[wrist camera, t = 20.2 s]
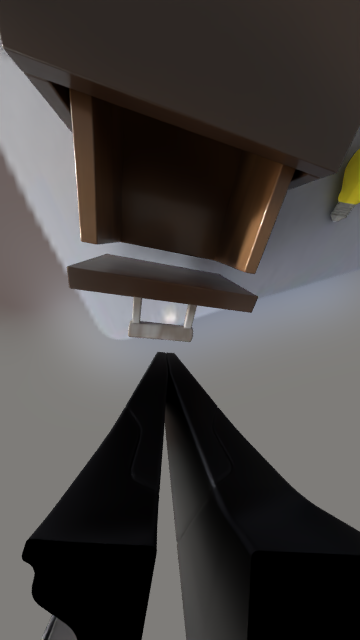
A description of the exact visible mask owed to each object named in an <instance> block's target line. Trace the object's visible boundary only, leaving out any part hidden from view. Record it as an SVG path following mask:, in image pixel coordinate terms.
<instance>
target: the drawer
mask: <svg viewBox="0 0 360 640" xmlns="http://www.w3.org/2000/svg"><path fill="white" fill-rule="evenodd" d="M69 90H70V104H71V117H72V130H73V143H74V157H75V170H76V183H77V196H78V210H79V223H80V236H81V241H82V242H87V243H92V244H105V243H114V242H124V243H129V244H134V245H139V246H144V247H149V248H154V249H159V250H165V251H170V252H175V253H180V254H185V255H190V256H195V257H200V258H205V259H210V260H215V261H217V262H220V263H222V264H225V265H228V266H230V267H233V268H235V269H238V270H240V271H243V272H246V273H251V274H255V273H256V270H257V268H258V265H259V263H260V260H261V257H262V255H263V252H264V250H265V247H266V244H267V242H268V239H269V237H270V234H271V232H272V229H273V226H274V224H275V221H276V219H277V216H278V213H279V211H280V208H281V206H282V203H283V200H284V198H285V195H286V193H287V190H288V188H289V185H290V182H291V180H292V177H293V175H294V172H295V168H292V167H289V166H286V165H284V164H281V163H278V162H275V161H272V160H270V159H267V158H264V157H261V156H258V155H256V154H253V153H250V152H247V151H244V150H242V149H239V148H236V147H233V146H230V145H228V144H225V143H222V142H219V141H216V140H214V139H211V138H208V137H205V136H202V135H200V134H197V133H194V132H191V131H188V130H186V129H183V128H180V127H177V126H174V125H172V124H169V123H166V122H163V121H160V120H158V119H155V118H152V117H149V116H146V115H144V114H141V113H138V112H135V111H132V110H130V109H127V108H124V107H121V106H118V105H116V104H113V103H110V102H107V101H104V100H102V99H99V98H96V97H93V96H90V95H88V94H85V93H82V92H79V91H76V90H74V89H71V88H69ZM67 273H68V282H69V288H71V289H78V290H86V291H93V292H101V293H108V294H116V295H123V296H131V297H134V299H133V315H132V320H131V321H130V323H129V330H128V336H129V337H138V338H150V339H161V340H173V341H174V340H175V341H185V342H191V340H192V337H193V329H192V323H193V319H194V315H195V311H196V307H197V305H198V306H205V307H213V308H220V309H228V310H235V311H243V312H250V313H251V312H252V310H253V308H254V306H255V303H256V301H257V299H258V296H256V295H254V294H253V293H251V292H249V291H248V290H246V289H244V288H242V287H241V286H239V285H237V284H236V283H234V282H232V281H230V280H229V279H227V278H225V277H224V276H222V275H220V274H215V273H210V272H204V271H199V270H193V269H187V268H182V267H176V266H171V265H165V264H160V263H154V262H148V261H143V260H137V259H132V258H126V257H121V256H115V255H110V254H105V255H102V256H99V257H95V258H92V259H89V260H86V261H83V262H80V263H77V264H73V265H70V266H67ZM142 298H146V299H153V300H161V301H168V302H176V303H183V304H188V308H187V313H186V317H185V321H184V326H181V325H172V324H162V323H153V322H143V321H140V316H141V305H142Z"/></svg>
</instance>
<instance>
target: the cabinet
mask: <svg viewBox="0 0 360 640" xmlns="http://www.w3.org/2000/svg"><path fill="white" fill-rule="evenodd" d="M0 38H1V43H2V46H3V48H4V50H5V51H6V52H7V53H8V55H9V56H10V57H11V58H12V59H13V61H14V62H15V63H16V64H17V66H18V67H19V68H20V69H21V70H22V71H23V72H24V74H25V75H26V76H27V77H28V79H29V80H30V81H31V82H32V84H33V85H34V86H35V87H36V88H37V90H38V91H39V92H40V93H41V95H42V96H43V97H44V98H45V100H46V101H47V102H48V103H49V105H50V106H51V107H52V108H53V110H54V111H55V112H56V113H57V114H58V116H59V117H60V118H61V119H62V121H63V122H64V123H65V124H66V126H67V127H68V128H69V129H70V131H71V132H72V133H73V130H72V117H71V104H70V90H69V88H71V89H74V90H76V91H79V92H82V93H85V94H88V95H90V96H93V97H96V98H99V99H102V100H104V101H107V102H110V103H113V104H116V105H118V106H121V107H124V108H127V109H130V110H132V111H135V112H138V113H141V114H144V115H146V116H149V117H152V118H155V119H158V120H160V121H163V122H166V123H169V124H172V125H174V126H177V127H180V128H183V129H186V130H188V131H191V132H194V133H197V134H200V135H202V136H205V137H208V138H211V139H214V140H216V141H219V142H222V143H225V144H228V145H230V146H233V147H236V148H239V149H242V150H244V151H247V152H250V153H253V154H256V155H258V156H261V157H264V158H267V159H270V160H272V161H275V162H278V163H281V164H284V165H286V166H289V167H292V168H295V172H294V175H293V177H292V180H291V182H290V185H289V188H288V190H290V189H292V188H295V187H298V186H301V185H303V184H306V183H309V182H312V181H314V180H317V179H320V178H324V177H326V176H329V175H332V174H335V173H337V172H338V170H339V168H340V166H341V164H342V162H343V160H344V157H345V155H346V153H347V151H348V149H349V147H350V145H351V143H352V141H353V139H354V137H355V134H356V132H357V130H358V128H359V126H360V0H0Z"/></svg>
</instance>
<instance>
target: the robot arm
mask: <svg viewBox="0 0 360 640" xmlns="http://www.w3.org/2000/svg"><path fill="white" fill-rule="evenodd" d="M164 423H165V429H166V440H167V450H168V460H169V470H170V480H171V489H172V500H173V509H174V520H175V530H176V540H177V543H178V544H177V550H178V560H179V570H180V579H181V590H182V600H183V609H184V620H185V629H186V640H360V532H359V531H358V530H356V529H354V528H353V527H351V526H349V525H348V524H346V523H344V522H342V521H341V520H339V519H337V518H335V517H334V516H332V515H331V514H329V513H327V512H326V511H324V510H322V509H320V508H319V507H317V506H315V505H314V504H313V503H311V502H310V501H308V500H307V499H306V498H305V497H303V496H302V495H301V494H300V493H298V492H297V491H296V490H295V489H294V488H293V487H292V486H291V485H290V484H289V483H288V482H287V481H286V480H285V479H284V478H283V477H282V476H281V475H280V474H279V473H278V472H277V471H276V470H275V469H274V468H273V467H272V466H271V465H270V464H269V463H268V462H267V461H266V460H265V459H264V458H263V457H262V456H261V454H260V453H259V452H258V451H257V450H256V449H255V448H254V447H253V446H252V445H251V444H250V443H249V442H248V441H247V440H246V439H245V438H244V437H243V435H241V433H240V432H239V431H238V430H237V429H236V428H235V427H234V426H233V424H232V423H231V422H230V421H229V420H228V418H227V417H226V416H225V415H224V414H223V412H222V411H221V410H220V409H219V408H217V405H216V404H215V403H214V401H213V400H212V399H211V398H210V396H209V395H208V394H207V393H206V392H205V390H204V389H203V388H202V387H201V385H200V384H199V383H198V382H197V381H196V379H195V378H194V377H193V376H192V374H191V373H190V372H189V371H188V369H187V368H186V367H185V366H184V364H183V363H182V362H181V361H180V360H179V358H178V357H177V356H176V355H175V354H174V353H163V352H157V354H156V355H155V357H154V359H153V360H152V362H151V364H150V366H149V367H148V369H147V371H146V373H145V374H144V376H143V378H142V379H141V381H140V383H139V384H138V386H137V388H136V390H135V391H134V393H133V395H132V396H131V398H130V400H129V401H128V403H127V405H126V408H124V410H123V411H122V413H121V415H120V417H119V418H118V420H117V421H116V423H115V425H114V426H113V428H112V429H111V431H110V432H109V434H108V435H107V437H106V438H105V439H104V441H103V442H102V444H101V445H100V447H99V448H98V450H97V451H96V452H95V454H94V455H93V456H92V457H91V459H90V460H89V462H88V463H87V464H86V466H85V467H84V468H83V470H82V471H81V472H80V474H79V475H78V476H77V478H76V479H75V480H74V482H73V483H72V484H71V486H70V487H69V489H68V490H67V491H66V492H65V494H64V495H63V496H62V498H61V500H60V501H59V502H58V503H57V504H56V506H55V507H54V508H53V510H52V511H51V512H50V514H49V515H48V516H47V517H46V519H45V520H44V521H43V522H42V523H41V525H40V526H39V527H38V528H37V529H36V531H35V532H34V533H33V534H32V535H31V537H30V538H29V539H28V540H27V541H26V544H25V547H24V550H23V553H22V559H23V561H25V562H27V563H29V564H30V565H31V566H32V567H33V569H34V572H35V576H34V580H33V584H32V595H33V598H34V600H35V601H36V602H37V604H38V605H40V606H41V607H42V608H44V609H45V610H47V611H48V612H49V613H51V614H52V616H51V619H50V621H49V623H48V625H47V627H46V630H45V632H44V634H43V637H42V638H41V640H141V639H142V633H143V628H144V622H145V616H146V611H147V605H148V599H149V593H150V588H151V582H152V576H153V570H154V565H155V559H156V552H157V520H158V502H159V489H160V476H161V462H162V450H163V436H164Z"/></svg>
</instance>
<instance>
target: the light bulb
mask: <svg viewBox="0 0 360 640" xmlns="http://www.w3.org/2000/svg"><path fill="white" fill-rule="evenodd" d="M338 201H339V203H338V204H337V206H336V207H335V209H334V210H333V211H332V213H331V218H332V221H336V222H338V221H340V220H342V219H344V218H346V217H347V215H348V214H349V213H350V211H351V210H352V208H354V206H355V205H356V204H358V203H360V149H359V150H358V151H357V152H356V153H355V154H354V155H353V157H352V158H351V159H350V161H349V162H348V165H347V167H346V169H345V173H344V178H343V184H342V190H341V192H340V194H339V197H338Z"/></svg>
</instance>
